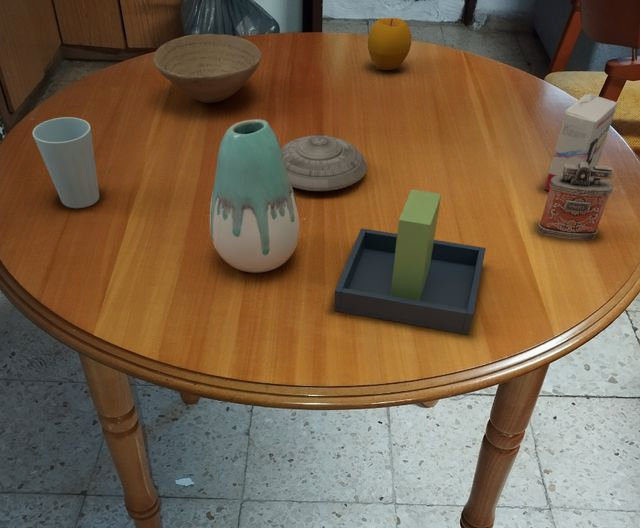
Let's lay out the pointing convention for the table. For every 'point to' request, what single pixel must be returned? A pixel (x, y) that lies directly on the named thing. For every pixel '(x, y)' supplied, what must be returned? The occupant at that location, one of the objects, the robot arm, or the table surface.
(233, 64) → the bowl
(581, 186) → the lighter
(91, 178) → the cup
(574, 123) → the ink box
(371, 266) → the tray
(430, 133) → the table surface
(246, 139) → the vase
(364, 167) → the flying saucer
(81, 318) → the table surface
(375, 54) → the apple
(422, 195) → the sponge
